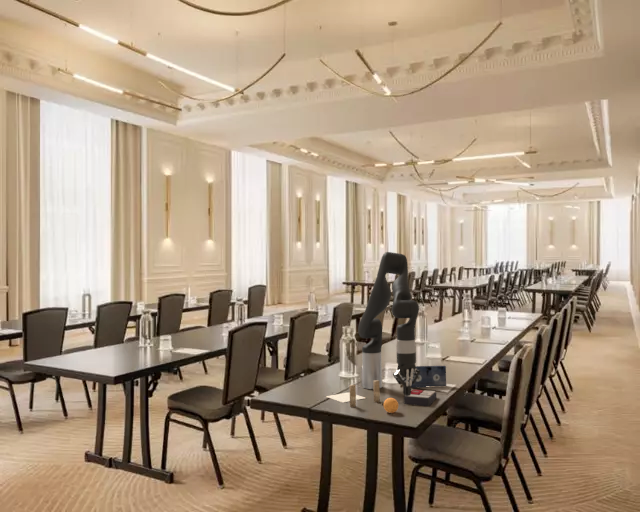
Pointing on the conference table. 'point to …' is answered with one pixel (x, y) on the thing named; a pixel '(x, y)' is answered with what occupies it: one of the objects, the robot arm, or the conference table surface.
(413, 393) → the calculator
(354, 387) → the post
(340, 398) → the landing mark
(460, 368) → the conference table surface
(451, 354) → the conference table surface
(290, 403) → the conference table surface
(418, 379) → the vhs cassette tape
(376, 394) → the post
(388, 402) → the ball
